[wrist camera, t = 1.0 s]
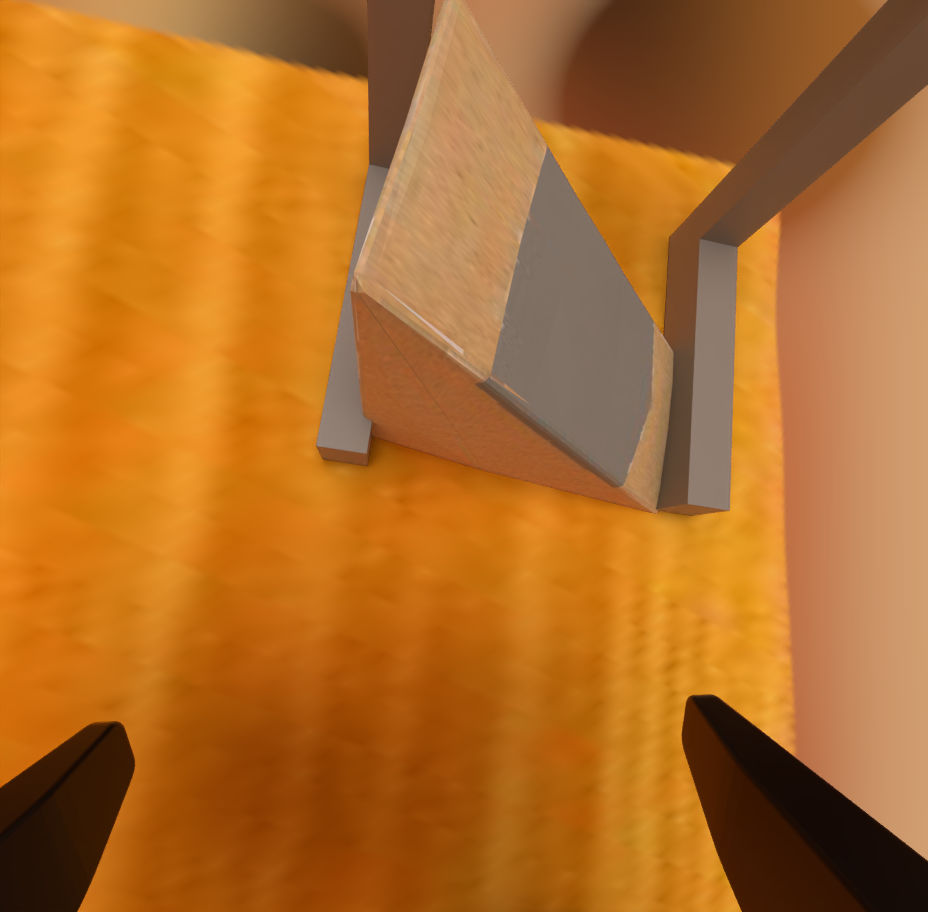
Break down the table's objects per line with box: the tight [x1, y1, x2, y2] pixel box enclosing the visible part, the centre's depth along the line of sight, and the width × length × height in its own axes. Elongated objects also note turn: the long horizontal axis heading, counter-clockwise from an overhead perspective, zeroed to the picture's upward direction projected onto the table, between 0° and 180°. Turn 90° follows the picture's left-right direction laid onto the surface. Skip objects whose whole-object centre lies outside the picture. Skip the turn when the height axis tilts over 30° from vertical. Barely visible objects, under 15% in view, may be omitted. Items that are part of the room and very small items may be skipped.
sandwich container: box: [350, 0, 674, 513], centre depth 20 cm, size 9×15×15 cm, turn 76°
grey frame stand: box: [316, 0, 928, 516], centre depth 18 cm, size 15×18×19 cm
